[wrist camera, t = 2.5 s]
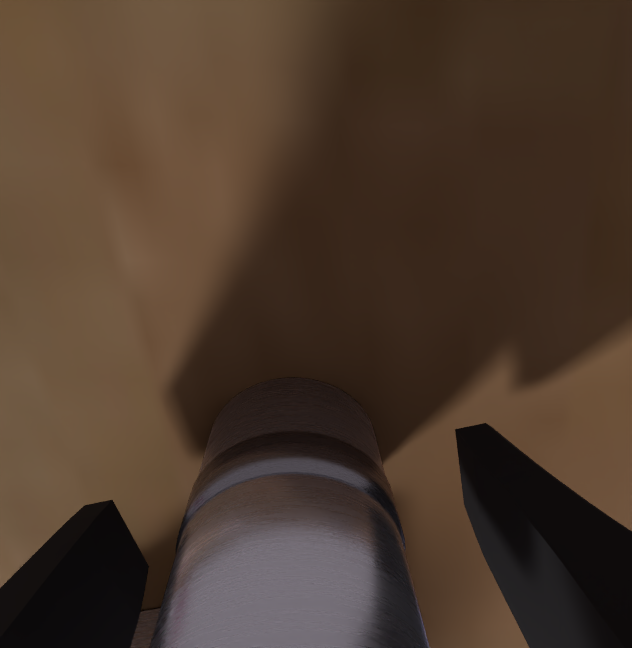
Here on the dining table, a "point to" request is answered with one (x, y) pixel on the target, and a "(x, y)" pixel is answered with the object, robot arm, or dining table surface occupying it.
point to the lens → (291, 532)
